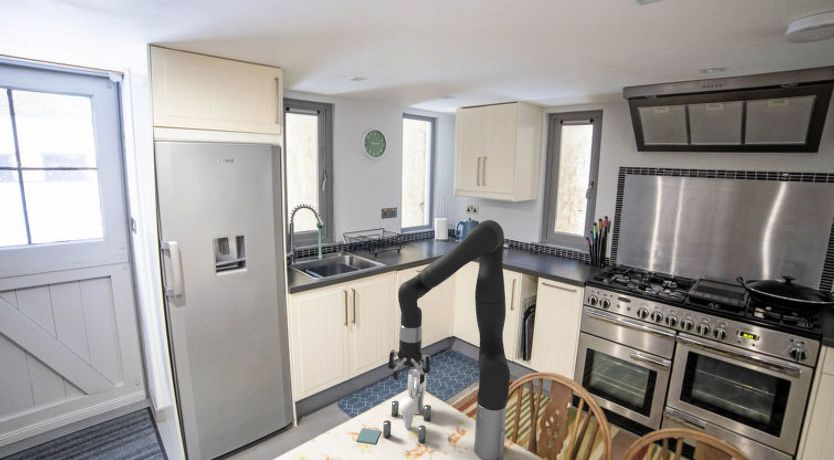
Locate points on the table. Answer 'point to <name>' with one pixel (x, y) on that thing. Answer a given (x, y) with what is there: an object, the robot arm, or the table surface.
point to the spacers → (421, 428)
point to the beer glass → (416, 389)
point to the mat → (368, 436)
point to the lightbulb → (408, 410)
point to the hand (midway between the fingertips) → (408, 381)
